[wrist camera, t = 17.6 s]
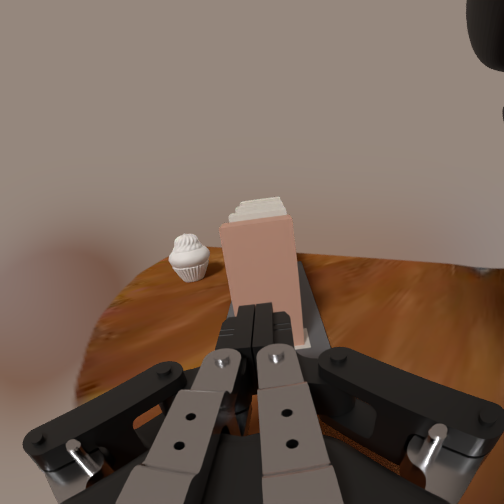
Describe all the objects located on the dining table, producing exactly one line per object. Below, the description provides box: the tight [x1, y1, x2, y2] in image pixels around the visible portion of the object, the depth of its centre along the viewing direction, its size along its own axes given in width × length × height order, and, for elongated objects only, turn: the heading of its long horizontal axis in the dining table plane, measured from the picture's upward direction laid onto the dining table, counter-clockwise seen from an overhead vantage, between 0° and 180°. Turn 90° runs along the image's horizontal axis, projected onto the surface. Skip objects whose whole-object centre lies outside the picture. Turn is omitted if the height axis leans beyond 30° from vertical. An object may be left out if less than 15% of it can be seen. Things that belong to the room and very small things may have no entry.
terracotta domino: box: [219, 215, 304, 346], centre depth 22 cm, size 2×5×10 cm, turn 88°
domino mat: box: [227, 261, 331, 359], centre depth 31 cm, size 24×9×1 cm, turn 177°
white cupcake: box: [169, 234, 210, 282], centre depth 43 cm, size 6×6×7 cm
